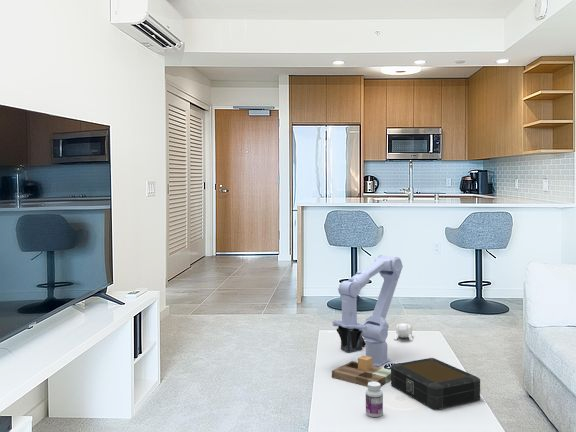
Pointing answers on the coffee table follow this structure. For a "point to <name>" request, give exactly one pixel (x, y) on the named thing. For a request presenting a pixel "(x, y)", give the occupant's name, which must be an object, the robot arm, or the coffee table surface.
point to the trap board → (361, 374)
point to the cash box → (435, 383)
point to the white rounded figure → (403, 331)
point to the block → (365, 363)
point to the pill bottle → (374, 400)
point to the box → (349, 343)
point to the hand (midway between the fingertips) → (349, 346)
